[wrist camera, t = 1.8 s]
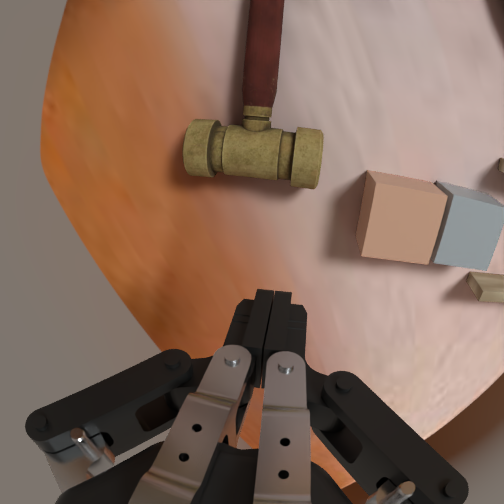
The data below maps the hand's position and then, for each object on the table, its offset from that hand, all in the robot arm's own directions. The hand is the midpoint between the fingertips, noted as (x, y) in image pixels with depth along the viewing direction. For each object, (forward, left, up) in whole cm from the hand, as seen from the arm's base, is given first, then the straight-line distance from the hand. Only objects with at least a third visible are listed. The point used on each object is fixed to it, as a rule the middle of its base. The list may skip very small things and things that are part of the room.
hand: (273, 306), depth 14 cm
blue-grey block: (0, +15, -15) cm, 22 cm away
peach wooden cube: (0, +9, -15) cm, 17 cm away
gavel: (-12, -3, -15) cm, 20 cm away
